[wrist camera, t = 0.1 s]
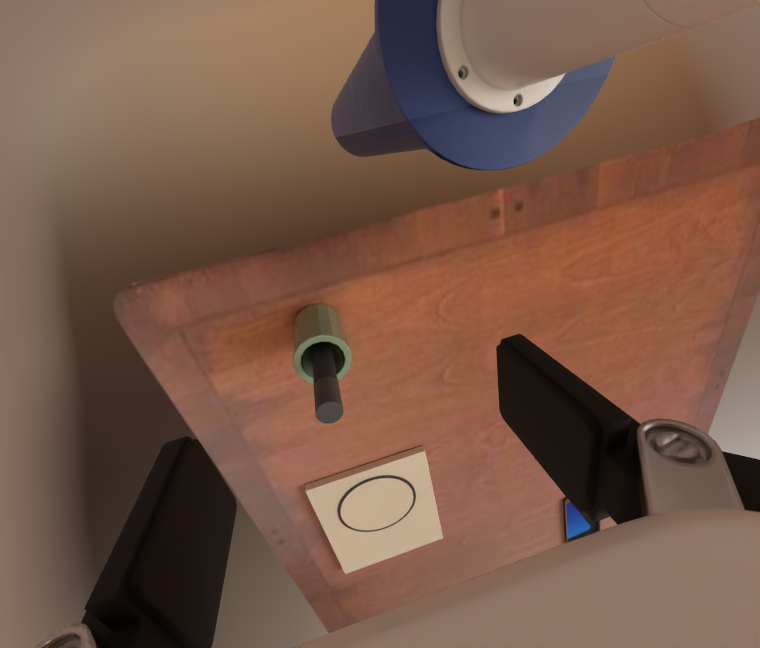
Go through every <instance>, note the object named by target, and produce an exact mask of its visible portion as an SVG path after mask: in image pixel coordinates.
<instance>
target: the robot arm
mask: <svg viewBox="0 0 760 648" xmlns="http://www.w3.org/2000/svg"><path fill="white" fill-rule="evenodd" d="M757 5H760V0H438V4H437V20H436V30H437V40H438V48H439V52H440V55H441V59H442V63H443V66H444V68H445V71H446V73H447V75H448V78H449V80H450V81H451V83H452V84H453V86H454V87H455V89H456V90H457V92H458V93H459V94H460V95H461V96H462V97H463V98H464V99H465V100H466V101H467V102H468V103H470V104H472V105H473V106H475V107H476V108H478V109H480V110H483V111H486V112H489V113H498V114H505V113H511V112H516V111H519V110H523V109H526V108H528V107H530V106H532V105H534V104H536V103H537V102H539V101H541V100H542V99H543V98H544V97H545V96H547V95H548V94H549V93H550V92H551V91H552V90H553V89H554V88H555V87H556V86H557V85H558V83H559V82H560V81H561V80H562V78H563V77H564V75H565V74H566V73H568V72H571V71H574V70H577V69H579V68H582V67H585V66H588V65H591V64H594V63H597V62H600V61H603V60H606V59H608V58H611V57H614V56H617V55H620V54H623V53H626V52H629V51H632V50H634V49H637V48H640V47H643V46H646V45H649V44H651V43H655V42H657V41H660V40H663V39H666V38H669V37H672V36H674V35H677V34H681V33H684V32H686V31H689V30H692V29H695V28H698V27H701V26H704V25H706V24H709V23H713V22H715V21H718V20H721V19H724V18H727V17H729V16H732V15H735V14H738V13H741V12H743V11H746V10H748V9H750V8H753V7H755V6H757ZM458 71H459V72H460V73H461V77H459V75H458ZM513 100H514V102H513ZM497 369H498V389H499V408H500V413H501V415H502V417H503V419H504V420H505V422H506V423H507V424H508V425H509V427H510V428H511V429H512V430H513V432H514V433H515V434H516V435H517V437H518V438H519V439H520V440H521V441H522V443H523V444H524V445H525V446H526V448H527V449H528V450H529V451H530V453H531V454H532V455H533V456H534V457H535V459H536V460H537V461H538V462H539V464H540V465H541V466H542V467H543V469H544V470H545V471H546V472H547V474H548V475H549V476H550V477H551V478H552V480H553V481H554V482H555V483H556V485H557V486H558V487H559V488H560V490H561V491H562V492H563V493H564V494H565V496H566V497H567V498H568V499H569V501H570V502H571V503H572V504H573V506H574V507H575V508H576V509H577V510H578V511H580V512H583V511H585V512H586V513H587V515H588V516H589V517H590V518H591V519H592V521H593V522H597V521H599V520H602V519H605V518H607V517H611V518H612V519H613V520H614V521H615V522H616V523H617V524H618V525H616V526H613V527H610V528H607V529H604V530H602V531H599V532H596V533H593V534H590V535H587V536H585V537H582V538H579V539H576V540H573V541H571V542H568V543H565V544H562V545H559V546H557V547H554V548H552V549H549V550H546V551H544V552H541V553H538V554H536V555H533V556H530V557H528V558H525V559H522V560H520V561H517V562H514V563H512V564H509V565H507V566H504V567H501V568H499V569H496V570H493V571H491V572H488V573H485V574H483V575H480V576H477V577H475V578H472V579H469V580H467V581H464V582H462V583H459V584H456V585H454V586H451V587H449V588H446V589H443V590H441V591H438V592H435V593H433V594H430V595H428V596H425V597H422V598H420V599H417V600H415V601H412V602H409V603H407V604H404V605H402V606H399V607H396V608H394V609H391V610H389V611H386V612H383V613H381V614H378V615H376V616H373V617H370V618H368V619H365V620H363V621H360V622H357V623H355V624H352V625H350V626H347V627H344V628H342V629H339V630H337V631H334V632H332V633H329V634H327V635H324V636H321V637H319V638H316V639H314V640H311V641H309V642H307V643H303V644H301V645H298V646H296V647H293V648H760V460H758V459H754V458H749V457H745V456H741V455H736V454H731V453H727V452H723V451H721V449H720V447H719V446H718V444H717V443H716V441H714V440H713V439H712V438H711V437H710V436H709V435H708V434H706V433H705V432H703V431H701V430H700V429H698V428H696V427H694V426H691V425H689V424H686V423H684V422H680V421H676V420H671V419H653V420H648V421H646V422H644V423H642V424H640V423H638V422H637V421H636V420H634V419H633V418H632V417H630V416H629V415H628V414H626V413H625V412H624V411H622V410H621V409H620V408H618V407H617V406H616V405H614V404H613V403H612V402H610V401H609V400H608V399H606V398H605V397H604V396H602V395H601V394H600V393H599V392H597V391H596V390H595V389H593V388H592V387H591V386H589V385H588V384H587V383H585V382H584V381H583V380H581V379H580V378H579V377H577V376H576V375H575V374H573V373H572V372H571V371H569V370H568V369H567V368H565V367H564V366H563V365H561V364H560V363H559V362H557V361H556V360H555V359H553V358H552V357H551V356H549V355H548V354H547V353H545V352H544V351H543V350H541V349H540V348H539V347H537V346H536V345H535V344H533V343H532V342H531V341H529V340H528V339H527V338H525V337H524V336H523V335H521V334H517V335H514V336H511V337H507V338H504V339H502V340H501V342H500V345H498V346H497ZM236 510H237V504H236V499H235V497H234V495H233V494H232V492H231V490H230V489H229V487H228V486H227V484H226V483H225V481H224V479H223V478H222V476H221V475H220V473H219V472H218V470H217V468H216V467H215V465H214V464H213V462H212V461H211V459H210V458H209V456H208V454H207V453H206V451H205V450H204V448H203V447H202V445H201V444H200V442H199V441H198V440H197V439H194V440H192V439H191V438H190V437H183V438H180V439H177V440H173V441H170V442H167V443H165V444H164V445H163V447H162V449H161V451H160V453H159V455H158V457H157V460H156V461H155V464H154V466H153V468H152V470H151V472H150V474H149V476H148V478H147V480H146V482H145V484H144V486H143V488H142V491H141V492H140V494H139V497H138V499H137V501H136V503H135V505H134V507H133V509H132V511H131V513H130V515H129V517H128V519H127V521H126V523H125V526H124V528H123V530H122V532H121V534H120V536H119V538H118V540H117V542H116V544H115V546H114V548H113V550H112V552H111V555H110V557H109V559H108V561H107V563H106V565H105V567H104V569H103V571H102V573H101V575H100V577H99V580H98V581H97V584H96V586H95V588H94V590H93V592H92V594H91V596H90V598H89V600H88V602H87V604H86V606H85V610H87V611H86V613H85V615H84V617H83V620H82V622H81V623H74V624H70V625H67V626H64V627H62V628H60V629H59V630H57V631H55V632H53V633H52V634H50V635H49V636H48V637H46V638H45V639H44V640H43V641H41V642H40V643H39V644H38V645H37V646H36V647H35V648H211V646H212V643H213V638H214V633H215V627H216V622H217V616H218V611H219V605H220V600H221V594H222V588H223V583H224V577H225V572H226V566H227V560H228V555H229V549H230V543H231V538H232V533H233V527H234V521H235V516H236Z"/></svg>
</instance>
